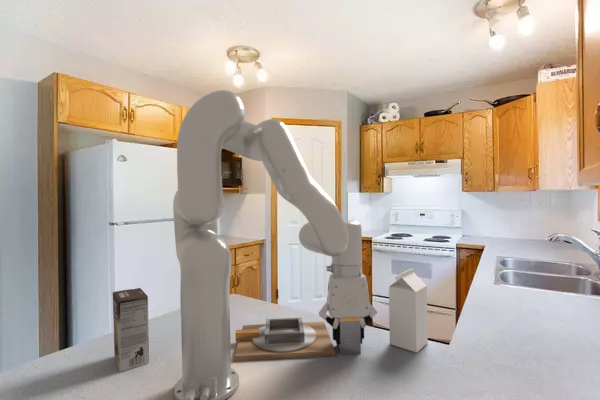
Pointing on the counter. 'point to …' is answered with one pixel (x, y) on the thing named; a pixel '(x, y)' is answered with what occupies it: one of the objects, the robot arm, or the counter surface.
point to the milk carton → (408, 312)
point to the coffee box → (131, 328)
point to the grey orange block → (349, 336)
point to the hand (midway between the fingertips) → (348, 341)
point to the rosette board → (283, 340)
